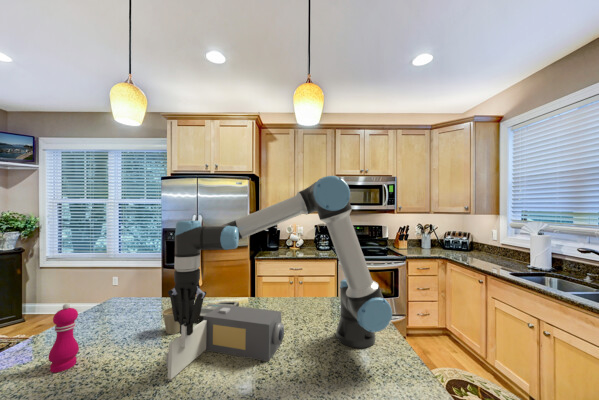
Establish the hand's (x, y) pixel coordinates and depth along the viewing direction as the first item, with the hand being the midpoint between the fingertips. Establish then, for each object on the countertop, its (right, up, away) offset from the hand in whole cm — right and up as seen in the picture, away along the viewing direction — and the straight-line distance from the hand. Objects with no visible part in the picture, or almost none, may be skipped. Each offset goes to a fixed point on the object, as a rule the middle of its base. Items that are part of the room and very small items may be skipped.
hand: (186, 344), depth 79 cm
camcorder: (-3, -11, +43) cm, 45 cm away
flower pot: (-17, -10, +27) cm, 33 cm away
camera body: (+16, -9, +14) cm, 23 cm away
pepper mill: (-41, -9, +2) cm, 42 cm away
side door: (-1, -8, +3) cm, 8 cm away
